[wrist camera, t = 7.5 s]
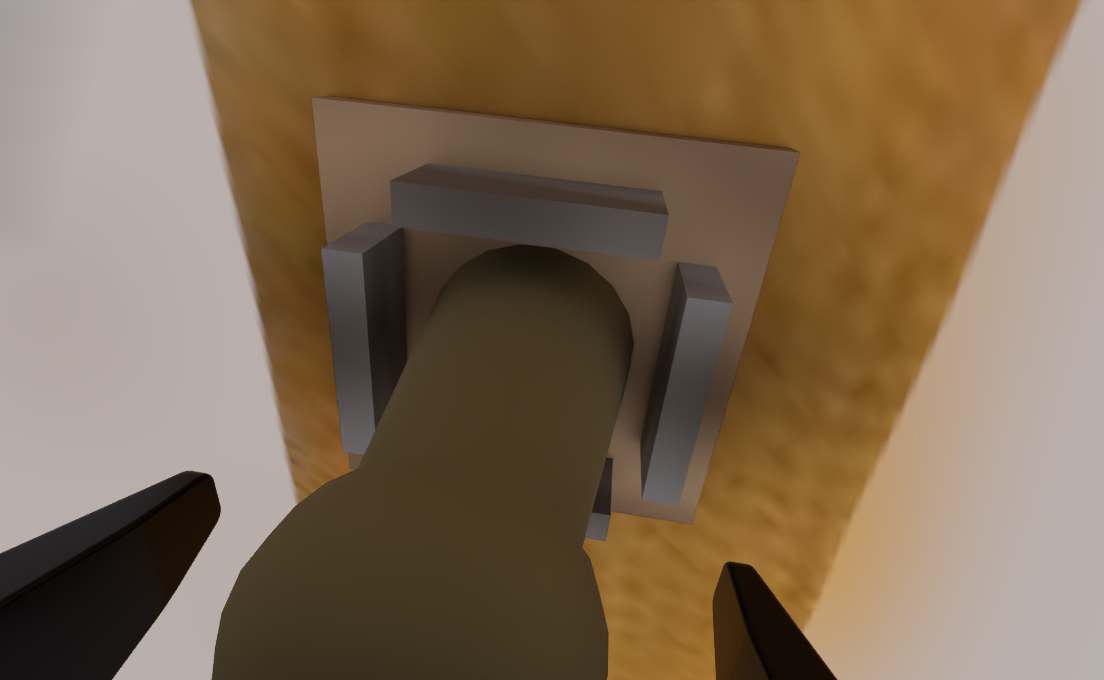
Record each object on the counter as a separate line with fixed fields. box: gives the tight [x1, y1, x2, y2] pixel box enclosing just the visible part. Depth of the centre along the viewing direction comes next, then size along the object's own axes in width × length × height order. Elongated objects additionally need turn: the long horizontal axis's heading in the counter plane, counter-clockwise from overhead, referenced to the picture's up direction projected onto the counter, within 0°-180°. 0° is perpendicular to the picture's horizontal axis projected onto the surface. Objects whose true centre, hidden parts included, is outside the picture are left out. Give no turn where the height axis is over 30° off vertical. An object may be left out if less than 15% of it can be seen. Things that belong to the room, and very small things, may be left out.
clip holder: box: [312, 96, 800, 541], centre depth 15 cm, size 12×12×3 cm
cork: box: [212, 244, 634, 680], centre depth 11 cm, size 6×6×11 cm
